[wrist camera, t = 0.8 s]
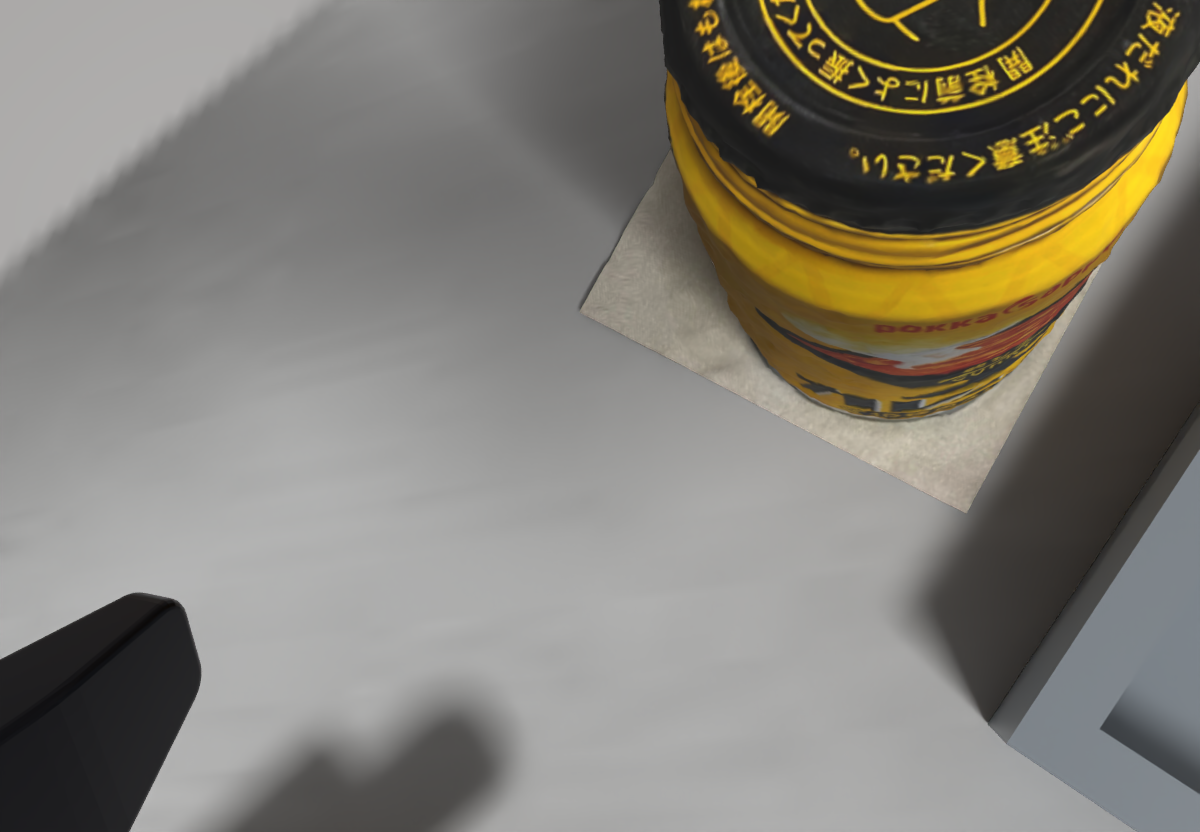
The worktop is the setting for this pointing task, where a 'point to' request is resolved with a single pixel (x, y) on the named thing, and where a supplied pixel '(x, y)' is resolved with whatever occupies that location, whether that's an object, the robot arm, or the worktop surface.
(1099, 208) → the condiment
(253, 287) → the worktop surface
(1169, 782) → the grey shallow square tray
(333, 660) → the worktop surface
